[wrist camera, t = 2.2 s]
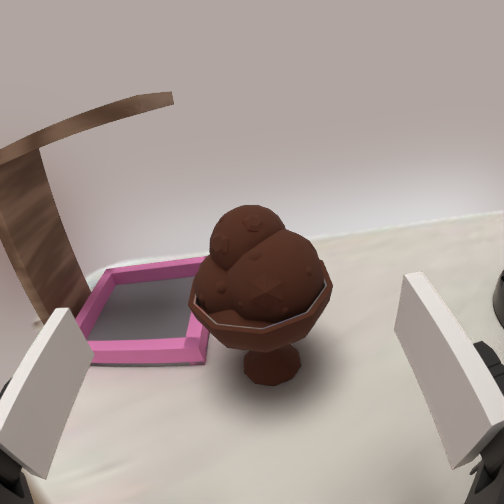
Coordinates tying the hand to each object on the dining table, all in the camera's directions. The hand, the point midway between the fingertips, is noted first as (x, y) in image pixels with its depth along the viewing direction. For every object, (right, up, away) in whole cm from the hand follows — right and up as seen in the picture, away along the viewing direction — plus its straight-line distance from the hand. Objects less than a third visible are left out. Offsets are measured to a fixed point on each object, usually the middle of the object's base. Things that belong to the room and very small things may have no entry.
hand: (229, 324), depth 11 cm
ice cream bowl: (+3, -8, +17) cm, 19 cm away
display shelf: (-14, -5, +27) cm, 31 cm away
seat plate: (-12, -5, +26) cm, 29 cm away
